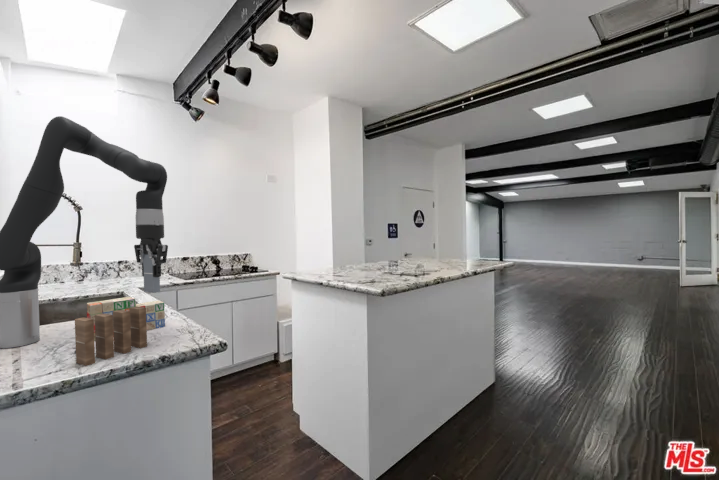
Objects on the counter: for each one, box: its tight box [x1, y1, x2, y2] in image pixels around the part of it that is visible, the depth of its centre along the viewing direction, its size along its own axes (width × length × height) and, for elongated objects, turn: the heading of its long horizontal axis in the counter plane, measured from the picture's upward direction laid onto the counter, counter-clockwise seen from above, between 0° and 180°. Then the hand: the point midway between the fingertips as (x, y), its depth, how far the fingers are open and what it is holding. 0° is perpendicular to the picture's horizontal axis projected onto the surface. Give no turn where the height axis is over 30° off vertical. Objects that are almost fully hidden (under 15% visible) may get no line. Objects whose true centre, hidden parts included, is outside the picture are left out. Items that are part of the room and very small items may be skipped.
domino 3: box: [113, 310, 132, 355], centre depth 92 cm, size 2×5×12 cm, turn 65°
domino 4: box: [129, 306, 148, 349], centre depth 96 cm, size 2×5×12 cm, turn 65°
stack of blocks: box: [86, 296, 166, 342], centre depth 110 cm, size 21×6×12 cm, turn 139°
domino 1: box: [74, 316, 96, 367], centre depth 84 cm, size 2×5×12 cm, turn 65°
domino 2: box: [95, 313, 115, 360], centre depth 88 cm, size 2×5×12 cm, turn 65°
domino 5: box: [143, 254, 161, 294], centre depth 100 cm, size 2×5×12 cm, turn 65°
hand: (151, 276), depth 100 cm, fingers closed on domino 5, 5 cm apart
